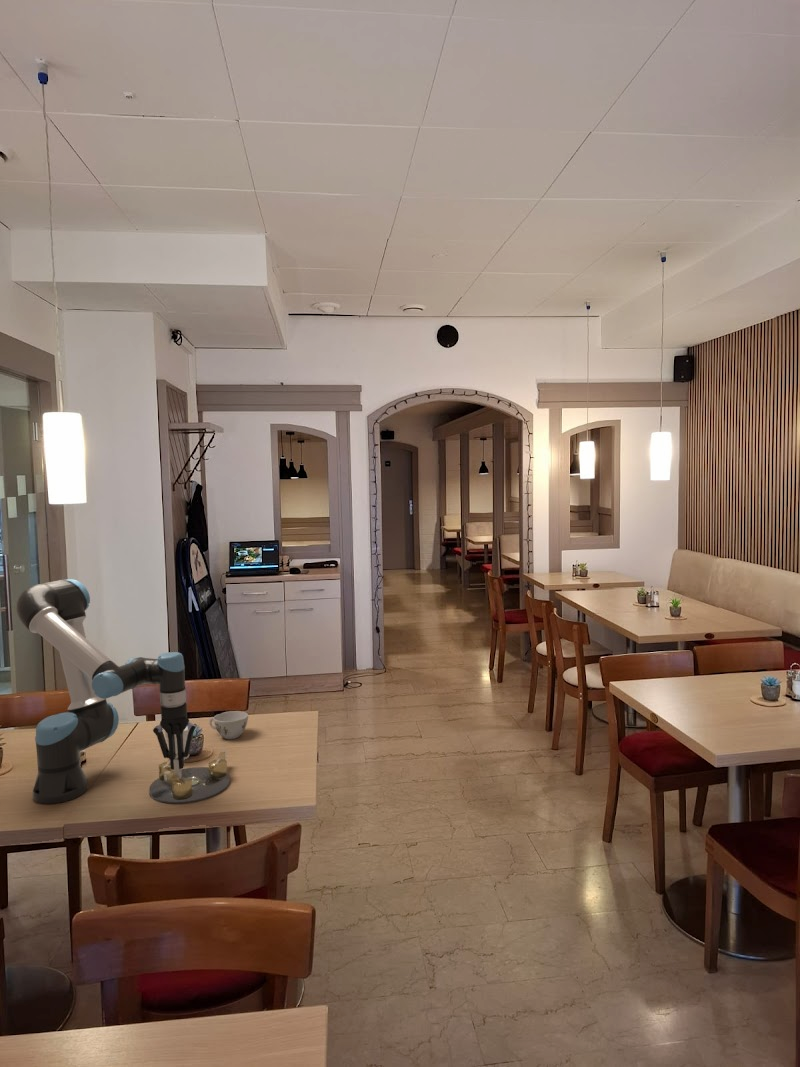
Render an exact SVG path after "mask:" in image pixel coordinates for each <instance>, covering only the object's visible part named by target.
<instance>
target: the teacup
mask: <svg viewBox="0 0 800 1067" xmlns="http://www.w3.org/2000/svg"><path fill="white" fill-rule="evenodd" d="M248 719H249V714H248V713H247V712H245V711H241V710H235V711H233V710H231V711H225V712H221V713H219V714H216V715H214V717H213V716H212V717H210V718H209V726H210V727H211V728H212V729H213V730H216V731H217V733H218V734H219V735H220V736H222V738H224V739H226V740H235V739H238V738H239V737H240V736H241V735H242V734H243V732H244V731H245V729H246V727H247V725H248V721H249V720H248ZM212 722H213V724H214V725H213V724H212Z"/></svg>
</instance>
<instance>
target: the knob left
mask: <svg viewBox="0 0 800 1067" xmlns="http://www.w3.org/2000/svg"><path fill="white" fill-rule="evenodd" d="M175 757H178V751H176V756H175ZM166 771H170V772H172V773H173V774H174V769H171V765H170V759H169V758H168V759H167V761H163V762H161V763H159V764H158V778H159V779H160V780H162V781H164V772H166Z"/></svg>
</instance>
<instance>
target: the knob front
mask: <svg viewBox="0 0 800 1067" xmlns="http://www.w3.org/2000/svg"><path fill="white" fill-rule="evenodd" d="M164 781H166V782H167V783H169V784H171V785H172V793H173V798H175V799H185V798H188V797H190V796H191V795H192V780H191V779H189V778H179V777H178V776H176V775H174V774H173V773H172V772H170V771H166V772H164Z"/></svg>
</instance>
